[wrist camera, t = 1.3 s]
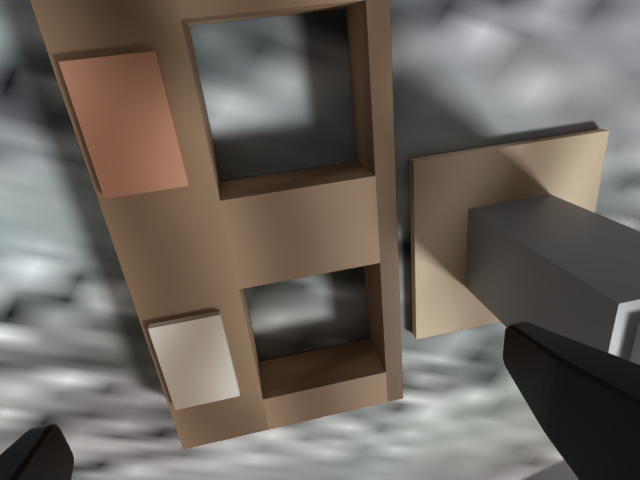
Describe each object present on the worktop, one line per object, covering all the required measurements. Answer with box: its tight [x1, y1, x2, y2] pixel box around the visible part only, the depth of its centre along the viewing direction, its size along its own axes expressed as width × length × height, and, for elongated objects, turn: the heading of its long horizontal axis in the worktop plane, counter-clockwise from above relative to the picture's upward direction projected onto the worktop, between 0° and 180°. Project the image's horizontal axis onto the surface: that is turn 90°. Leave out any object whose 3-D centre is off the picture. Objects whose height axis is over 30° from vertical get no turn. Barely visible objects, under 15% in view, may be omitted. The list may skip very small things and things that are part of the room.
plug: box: [465, 194, 640, 365], centre depth 16 cm, size 4×4×9 cm
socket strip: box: [30, 0, 403, 449], centre depth 16 cm, size 10×18×3 cm, turn 6°
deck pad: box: [409, 129, 609, 339], centre depth 20 cm, size 9×9×1 cm
